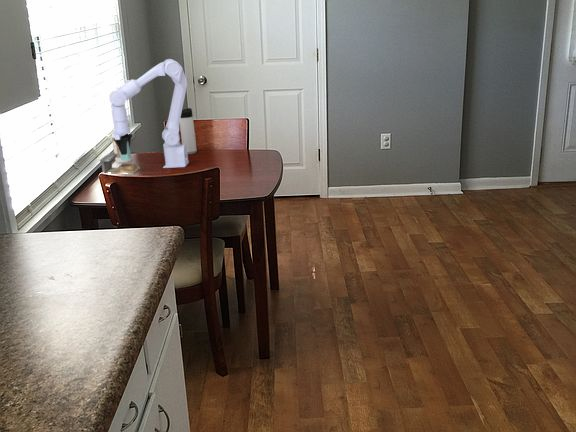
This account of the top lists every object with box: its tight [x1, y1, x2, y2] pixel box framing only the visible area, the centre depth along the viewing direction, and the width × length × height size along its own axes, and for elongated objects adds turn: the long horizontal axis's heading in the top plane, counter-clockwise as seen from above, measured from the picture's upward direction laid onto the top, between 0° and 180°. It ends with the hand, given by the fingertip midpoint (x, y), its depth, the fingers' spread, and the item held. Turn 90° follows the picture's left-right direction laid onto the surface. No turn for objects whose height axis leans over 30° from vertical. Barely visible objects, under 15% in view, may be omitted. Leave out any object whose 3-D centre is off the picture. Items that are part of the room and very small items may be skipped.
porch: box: [99, 153, 141, 175], centre depth 270 cm, size 13×10×7 cm
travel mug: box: [179, 107, 198, 155], centre depth 294 cm, size 6×7×20 cm
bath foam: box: [111, 127, 132, 164], centre depth 286 cm, size 7×7×20 cm
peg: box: [120, 141, 132, 160], centre depth 268 cm, size 3×3×7 cm
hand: (125, 153), depth 268 cm, fingers closed on peg, 3 cm apart
